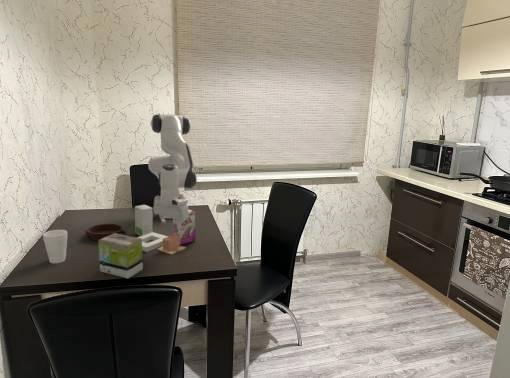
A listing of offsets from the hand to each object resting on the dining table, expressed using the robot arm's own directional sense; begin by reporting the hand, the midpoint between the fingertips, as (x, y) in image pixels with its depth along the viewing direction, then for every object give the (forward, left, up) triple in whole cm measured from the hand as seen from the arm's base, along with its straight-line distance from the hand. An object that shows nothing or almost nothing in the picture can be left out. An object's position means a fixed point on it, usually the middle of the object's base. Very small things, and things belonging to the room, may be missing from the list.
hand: (170, 225), depth 177 cm
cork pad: (0, 0, -12) cm, 12 cm away
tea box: (+30, 0, -13) cm, 33 cm away
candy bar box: (-11, -1, -13) cm, 16 cm away
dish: (+7, -41, -13) cm, 43 cm away
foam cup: (+39, -32, -13) cm, 52 cm away
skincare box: (-8, -28, -13) cm, 31 cm away
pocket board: (+1, -14, -12) cm, 18 cm away
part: (0, 0, -12) cm, 12 cm away
